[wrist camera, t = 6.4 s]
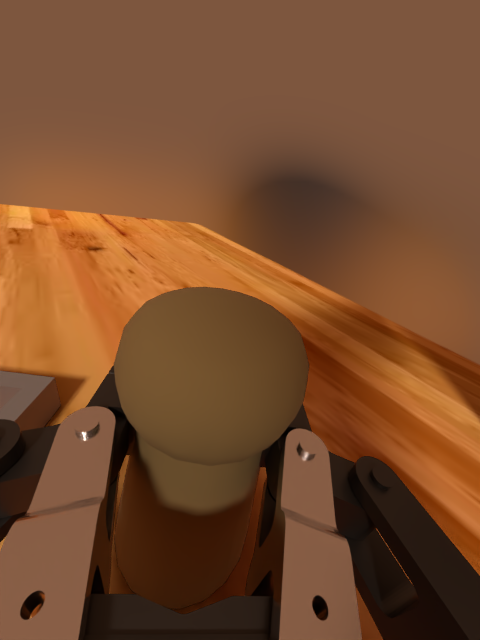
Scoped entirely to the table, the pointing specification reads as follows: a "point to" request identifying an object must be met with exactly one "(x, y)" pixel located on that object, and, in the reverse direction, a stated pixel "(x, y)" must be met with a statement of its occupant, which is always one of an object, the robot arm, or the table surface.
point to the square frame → (28, 399)
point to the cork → (199, 433)
